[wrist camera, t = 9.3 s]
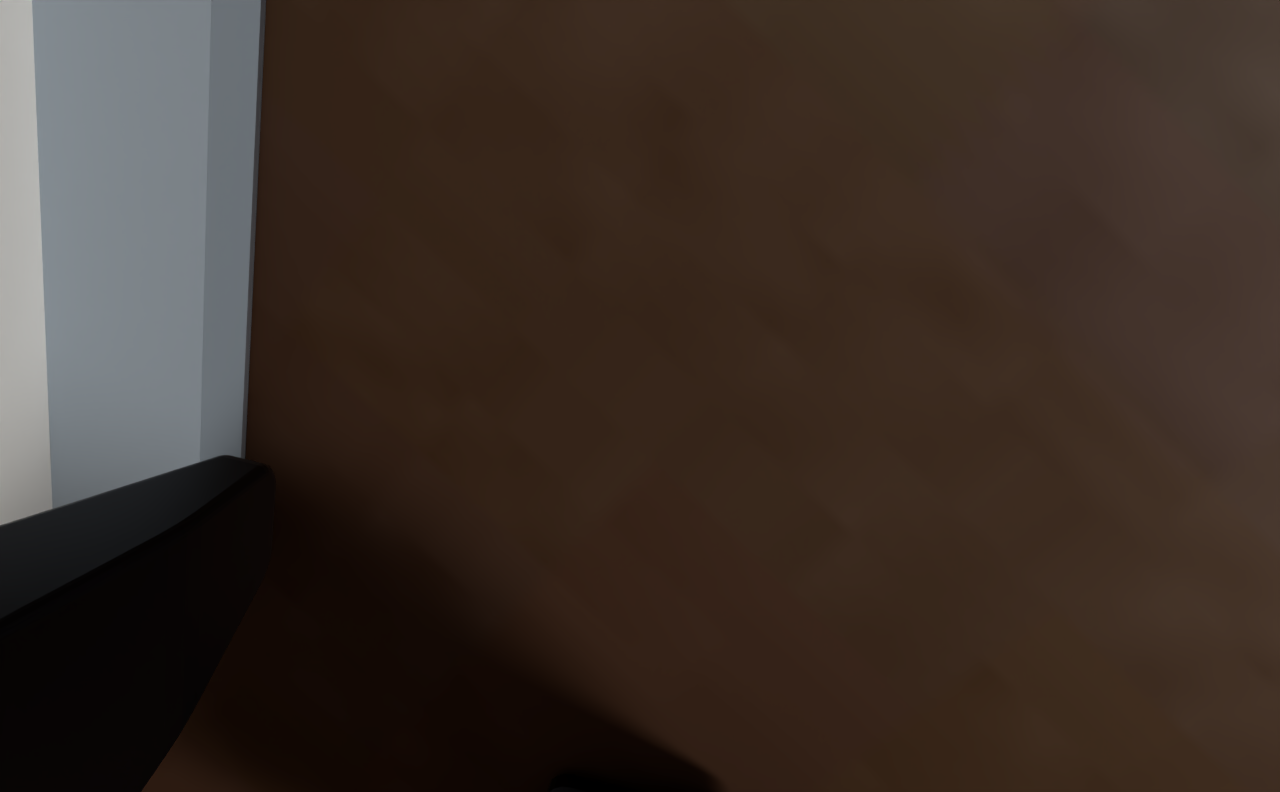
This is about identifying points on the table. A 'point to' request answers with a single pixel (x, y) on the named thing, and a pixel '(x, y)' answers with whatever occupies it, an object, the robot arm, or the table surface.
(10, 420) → the power strip
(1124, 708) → the table surface
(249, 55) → the keyhole board
